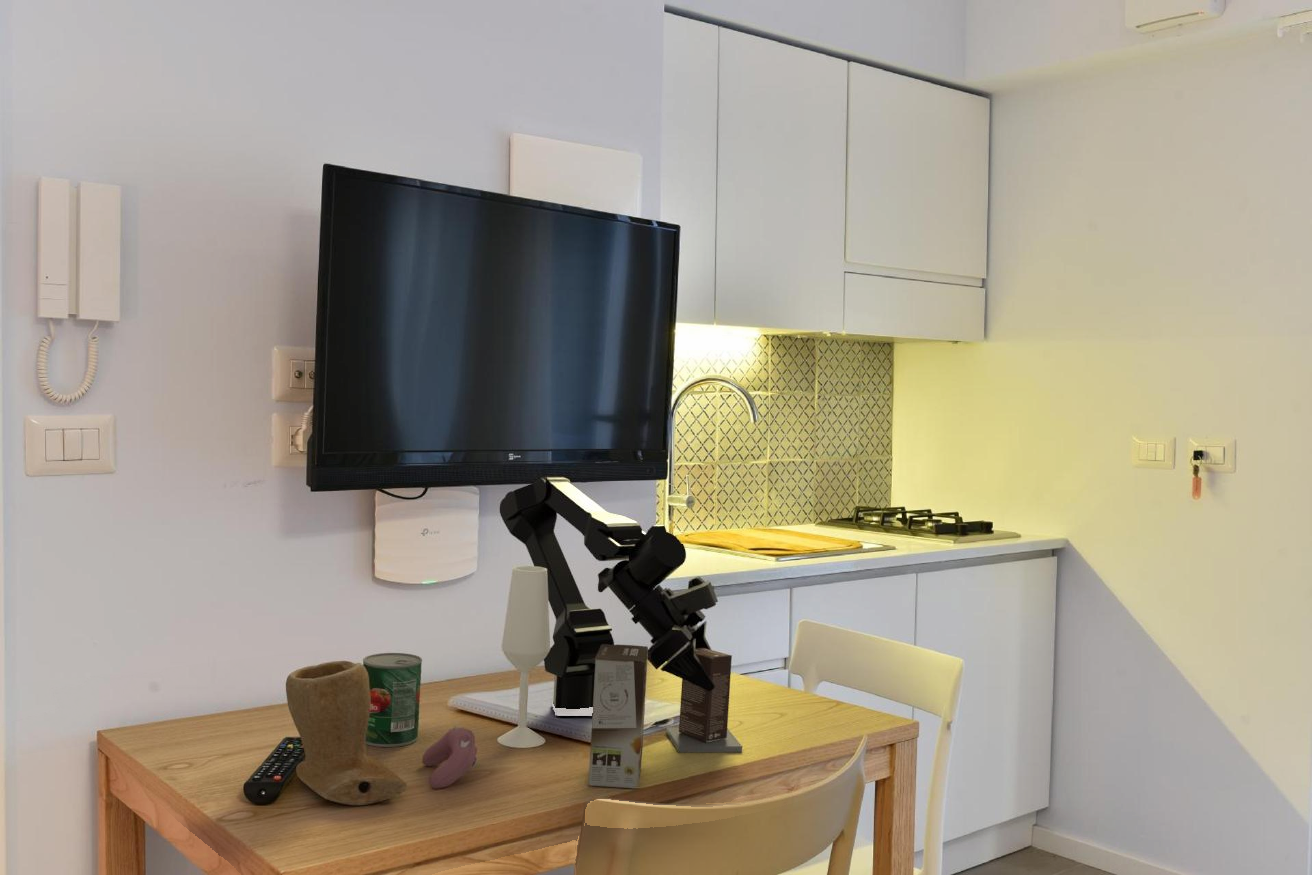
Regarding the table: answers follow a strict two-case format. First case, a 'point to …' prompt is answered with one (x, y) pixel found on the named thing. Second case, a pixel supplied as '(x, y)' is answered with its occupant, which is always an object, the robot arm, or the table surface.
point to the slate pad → (702, 742)
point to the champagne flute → (526, 641)
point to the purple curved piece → (451, 757)
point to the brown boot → (338, 734)
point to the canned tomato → (393, 699)
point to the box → (707, 699)
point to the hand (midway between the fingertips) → (716, 681)
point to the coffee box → (618, 716)
